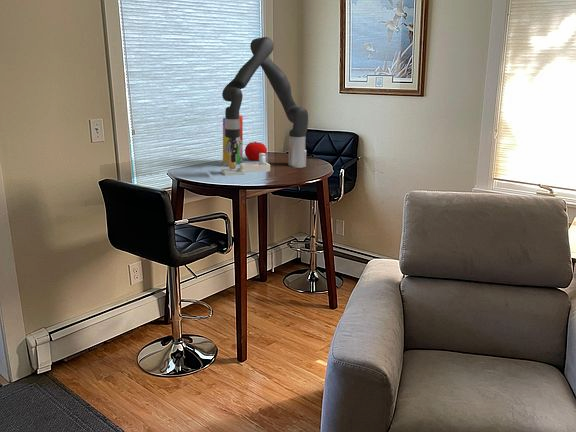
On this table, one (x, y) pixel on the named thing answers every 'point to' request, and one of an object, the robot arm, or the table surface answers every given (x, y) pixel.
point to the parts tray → (225, 172)
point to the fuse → (261, 158)
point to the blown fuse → (231, 164)
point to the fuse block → (255, 167)
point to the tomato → (255, 150)
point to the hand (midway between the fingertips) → (232, 161)
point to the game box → (239, 141)
